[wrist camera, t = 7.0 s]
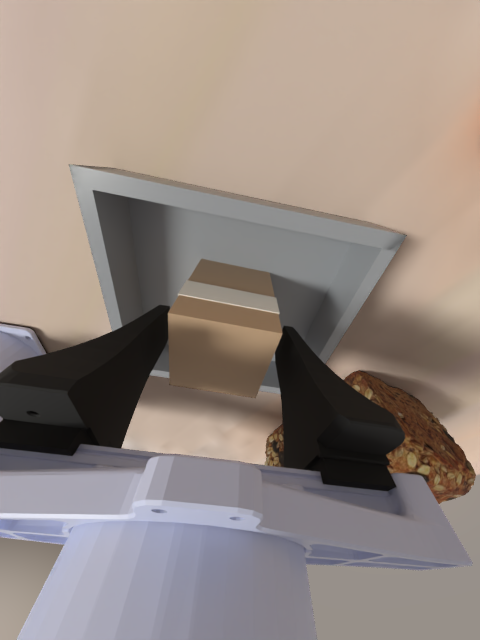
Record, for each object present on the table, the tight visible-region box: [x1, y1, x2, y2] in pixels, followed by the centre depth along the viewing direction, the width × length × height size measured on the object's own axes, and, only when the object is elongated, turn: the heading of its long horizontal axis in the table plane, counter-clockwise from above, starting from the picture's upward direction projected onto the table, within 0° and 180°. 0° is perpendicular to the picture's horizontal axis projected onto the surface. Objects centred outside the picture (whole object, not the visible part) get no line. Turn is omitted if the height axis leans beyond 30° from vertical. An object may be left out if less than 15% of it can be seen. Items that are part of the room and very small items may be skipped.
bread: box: [265, 371, 476, 504], centre depth 22 cm, size 19×11×10 cm, turn 151°
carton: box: [168, 259, 283, 398], centre depth 13 cm, size 5×5×7 cm
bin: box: [69, 164, 407, 394], centre depth 15 cm, size 14×16×4 cm
